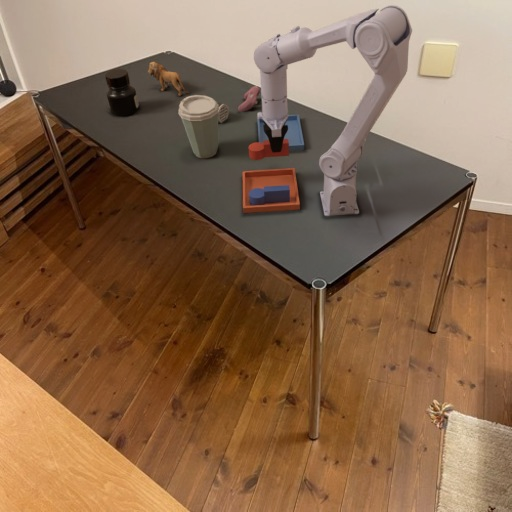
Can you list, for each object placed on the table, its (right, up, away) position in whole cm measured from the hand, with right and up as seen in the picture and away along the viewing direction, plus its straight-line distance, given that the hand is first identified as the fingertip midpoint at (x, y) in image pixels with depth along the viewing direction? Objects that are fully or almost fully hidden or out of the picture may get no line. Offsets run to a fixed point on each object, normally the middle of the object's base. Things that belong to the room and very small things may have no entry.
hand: (276, 148), depth 122 cm
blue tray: (+2, +8, +22) cm, 24 cm away
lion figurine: (-34, +30, +49) cm, 66 cm away
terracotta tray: (-1, -11, +2) cm, 11 cm away
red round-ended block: (-2, -1, +1) cm, 2 cm away
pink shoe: (-7, +21, +37) cm, 43 cm away
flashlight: (-20, +17, +34) cm, 43 cm away
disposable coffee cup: (-19, +2, +18) cm, 26 cm away
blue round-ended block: (-2, -13, -1) cm, 13 cm away
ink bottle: (-47, +21, +40) cm, 65 cm away
